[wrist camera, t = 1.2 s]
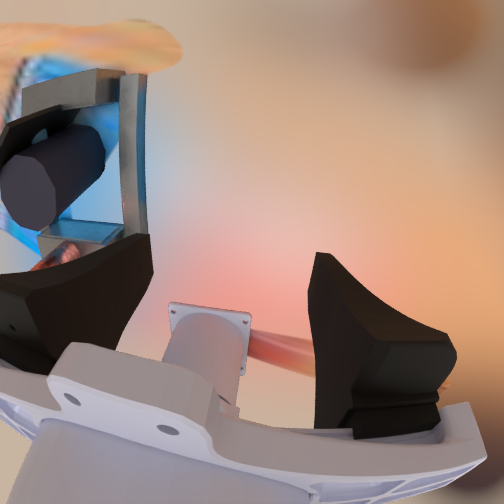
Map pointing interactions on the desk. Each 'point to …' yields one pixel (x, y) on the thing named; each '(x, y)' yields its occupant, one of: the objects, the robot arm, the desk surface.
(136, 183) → the vise body
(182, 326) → the robot arm
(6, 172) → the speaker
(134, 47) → the desk surface
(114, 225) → the jaw slide
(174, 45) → the desk surface
